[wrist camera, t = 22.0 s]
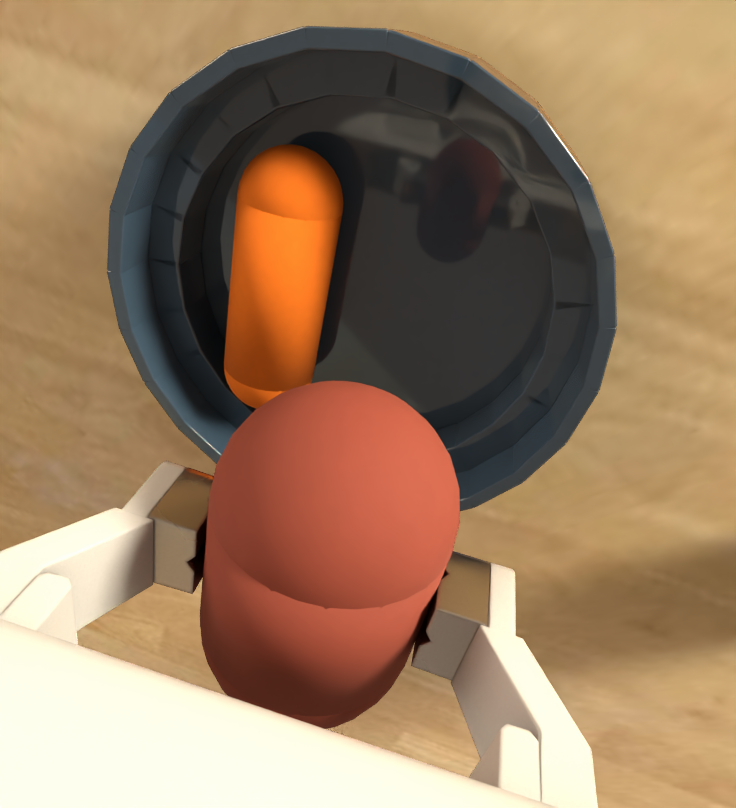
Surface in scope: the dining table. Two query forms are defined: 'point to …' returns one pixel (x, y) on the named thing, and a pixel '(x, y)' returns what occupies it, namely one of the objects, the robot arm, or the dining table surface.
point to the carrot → (280, 271)
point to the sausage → (324, 549)
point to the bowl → (379, 243)
